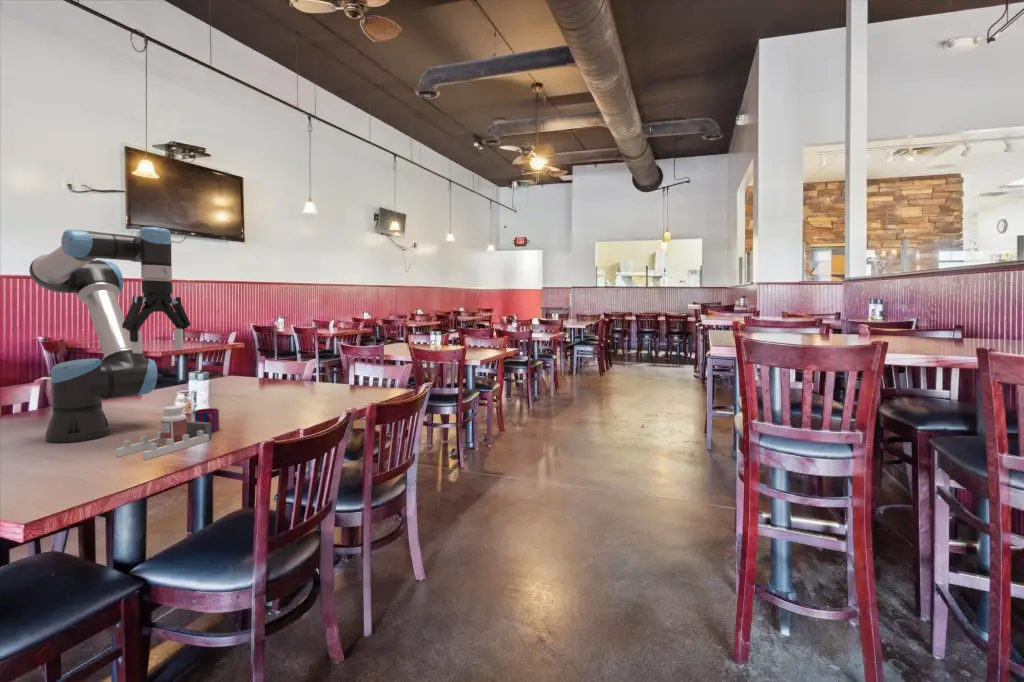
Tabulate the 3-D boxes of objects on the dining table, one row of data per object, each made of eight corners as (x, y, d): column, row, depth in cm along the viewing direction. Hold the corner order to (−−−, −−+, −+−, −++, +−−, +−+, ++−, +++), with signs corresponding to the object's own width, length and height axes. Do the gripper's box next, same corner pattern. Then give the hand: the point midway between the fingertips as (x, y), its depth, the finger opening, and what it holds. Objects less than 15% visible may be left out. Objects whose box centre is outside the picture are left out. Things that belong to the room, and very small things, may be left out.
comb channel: (116, 456, 139) (115, 437, 138) (187, 436, 160) (186, 420, 160) (146, 459, 136) (146, 441, 136) (214, 439, 157) (214, 423, 157)
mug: (218, 427, 172) (217, 407, 171) (220, 434, 164) (220, 413, 163) (194, 430, 168) (194, 409, 168) (196, 436, 160) (195, 415, 159)
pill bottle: (188, 441, 154) (187, 404, 153) (185, 446, 149) (184, 408, 148) (163, 443, 151) (162, 405, 151) (160, 448, 146) (158, 409, 145)
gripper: (125, 278, 141) (128, 355, 142) (202, 282, 165) (203, 348, 166) (104, 277, 142) (107, 354, 144) (183, 282, 167) (185, 347, 168)
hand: (159, 351), depth 155 cm, fingers open, 13 cm apart
